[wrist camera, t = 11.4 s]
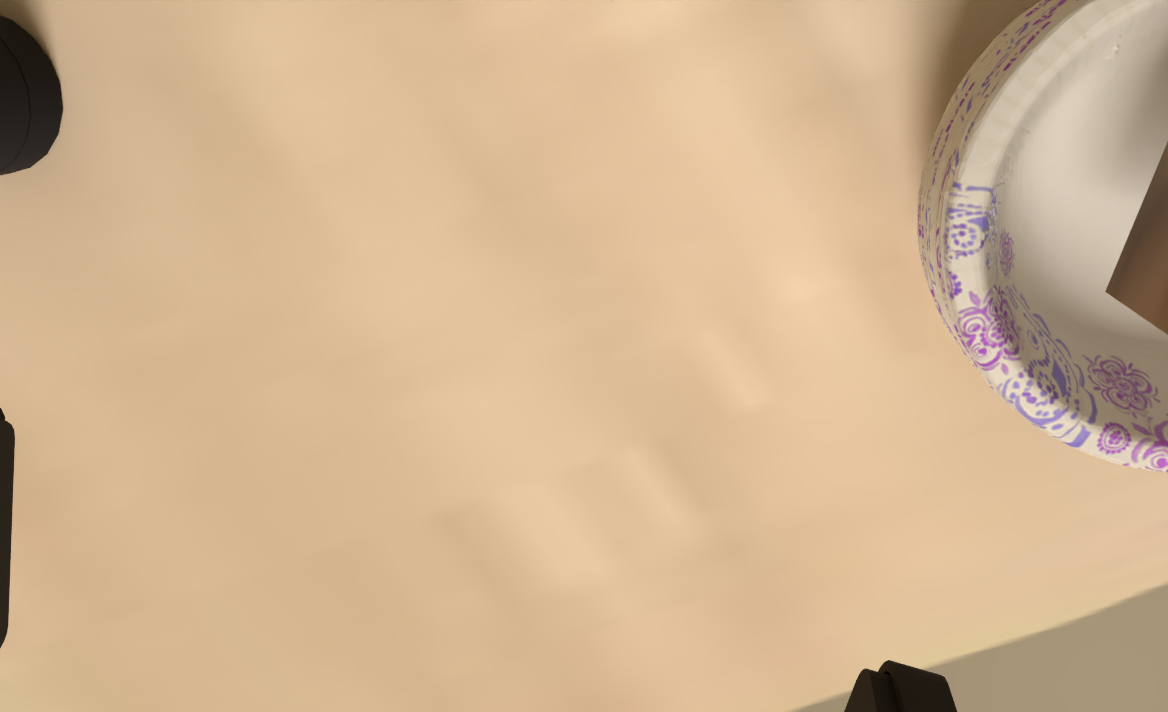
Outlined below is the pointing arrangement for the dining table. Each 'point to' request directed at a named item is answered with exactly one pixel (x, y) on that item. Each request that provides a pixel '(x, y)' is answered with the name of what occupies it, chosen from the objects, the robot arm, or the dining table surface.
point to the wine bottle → (25, 100)
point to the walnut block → (1147, 255)
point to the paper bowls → (1055, 221)
